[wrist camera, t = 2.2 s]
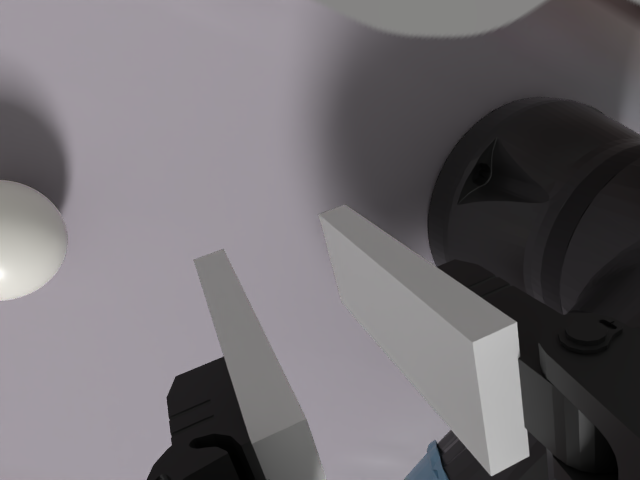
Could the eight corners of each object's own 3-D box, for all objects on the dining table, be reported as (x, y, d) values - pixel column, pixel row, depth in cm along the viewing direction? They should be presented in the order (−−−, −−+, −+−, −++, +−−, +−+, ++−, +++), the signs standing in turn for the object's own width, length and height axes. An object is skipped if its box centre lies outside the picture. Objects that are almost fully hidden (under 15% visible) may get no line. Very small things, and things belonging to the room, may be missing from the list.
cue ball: (44, 154, 25) (23, 177, 20) (90, 251, 27) (82, 293, 22) (-77, 190, 24) (-130, 224, 19) (-18, 288, 26) (-52, 342, 21)
